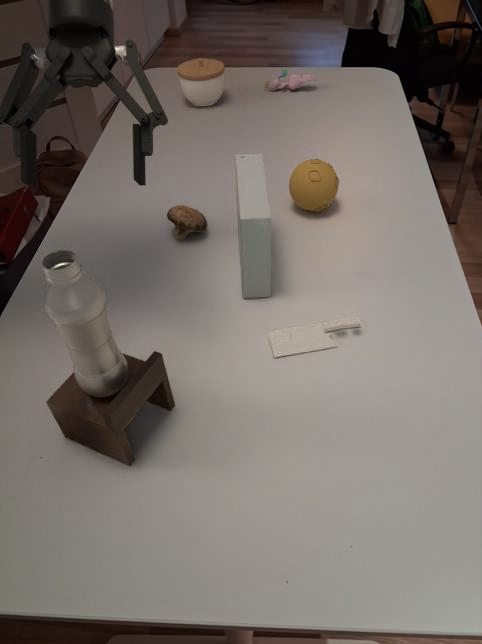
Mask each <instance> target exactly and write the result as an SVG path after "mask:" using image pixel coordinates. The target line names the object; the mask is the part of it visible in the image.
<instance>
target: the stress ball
mask: <svg viewBox="0 0 482 644" xmlns="http://www.w3.org/2000/svg"><path fill="white" fill-rule="evenodd" d="M288 182H289V183H288V191H289V194H290V197H291V199H292V201H293V202H294V204H296V205H297V206H298V207H299V208H301V209H303V210H306V211H309V212H310V211H311V212H315V213H319V212H322V211H325V210H327V209H328V208H329V206H330V205H331V204H332V202H333V201H334V200H335V199H336V196H337V194H338V190H339V185H340V179H339V177H338V174H337V173H336V170H335V169H334V167H333V165H331V164H330V163H329V162H326V161H325V160H321V159H319V158H313V159H308V160H305V161H302V162H300V163H299V164H298V165H297V166H296V167H295V168H294V170H293V171H292V172H291V175H290V177H289V180H288Z"/></svg>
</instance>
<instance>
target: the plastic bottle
mask: <svg viewBox="0 0 482 644" xmlns="http://www.w3.org/2000/svg"><path fill="white" fill-rule="evenodd" d="M40 266H41V268H42V271H43V275H44V278H45V280H46V281H47V282H48V283H47V285H46V288H45V291H44V294H43V305H44V310H45V311H46V313H47V315H48V316H49V318H50V320H51V321H52V323H53V324H54V325H55V327H56V328H57V330H58V332H59V333H60V335H61V337H62V339H63V341H64V342H65V345H66V347H67V349H68V352H69V355H70V359H71V363H72V370H73V372H74V375H75V379H76V382H77V383H78V385H79V386H80V387H81V388H82V390H83V391H84V392H85V393H87V394H89V395H92V396H95V397H109V396H112V395H114V394H116V393H118V392H119V391H120V390H121V389H122V388H123V387H124V386H125V384H126V383H127V381H128V377H129V371H128V364H127V361H126V359H125V357H124V356H123V354H122V353H123V352H122V351H121V350H120V348H119V346H118V344H117V342H116V339H115V337H114V335H113V332H112V329H111V324H110V320H109V315H108V306H107V301H106V296H105V290H104V288H103V287H102V286H101V285H100V283H99V282H98V281H97V280H96V279H94V278H92V276H90V275H88V274H87V273H84V268H83V266H82V264H81V262H80V260H79V257H78V255H77V253H76V252H74V251H73V250H70V249H55V250H53V251H50V252H48V253H47V254H45V255H44V256H43V257H42V258H41V260H40Z"/></svg>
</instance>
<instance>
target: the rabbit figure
mask: <svg viewBox="0 0 482 644" xmlns="http://www.w3.org/2000/svg"><path fill="white" fill-rule="evenodd" d="M281 71H282V73H280V74H279V75H277V77H276V78H274V79H272V80H267V81H264V84H263V90H264V92H266V91H267V89H266V88H267V87H268V88H269V90H270V91H271V92H275V91H276V90H279V89H280V90H281V89H284V88H286V87H288V88H289V89H290V90H292V91H294V90H296V89H299V88H301V86H302V84H304V83H306V82H308V81H313V82H318V77H317V76H315V75H313V74H310V73H307V74H302V75H301V74H298V73H294V74H292V75H290V76H289V77H288V79H287V81H286V80H285V79H283V78H285V77H287V75H288V70H287V69H286V68H282V69H281Z"/></svg>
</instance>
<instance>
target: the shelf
mask: <svg viewBox="0 0 482 644" xmlns="http://www.w3.org/2000/svg"><path fill="white" fill-rule="evenodd" d="M121 353H122V354H123V356H124V357H125V359H126V361H127V364H128V371H129V377H128V381H127V383H126V384H125V386H124V387H123V388H122V389H121V390H120V391H119V392H118V393H116V394H114V395H112V396H109V397H95V396H92V395H89V394H87V393H85V392H84V391H83V390H82V388H81V387H80V386H79V385H78V383H77V382H76V379H75V375H74V371H73V372H72V373H71V375H70V376H68V378H67V379H66V380H65V381H64V382H63V383H62V384H61V385H60V386H59V387H58V388H57V390H55V391H54V393H52V395H51V396H50V397H49V398H48V399H47V400H46V401H45V403H46V405H47V408H48V409H49V410H50V412H51V415H52V416H53V418H54V420H55V421H56V423H57V425H58V427H59V429H60V431H61V433H62V435H63V436H64V438H65V439H68V440H69V441H72V442H74V443H76V444H79V445H80V446H83V447H85V448H87V449H90V450H92V451H95V452H97V453H99V454H101V455H103V456H106V457H108V458H110V459H112V460H115V461H117V462H118V463H119V462H120V463H121V464H124V465H126V466H128V467H131V466H132V465H133V464H134V463H135V461H136V457H135V454H134V452H133V450H132V447H131V444H130V442H129V439H128V437H127V435H126V432H125V430H126V429H127V427H128V426H129V425H130V423H131V421H132V420H133V419H134V418H135V417H136V416H137V414H138V413H139V412H140V410H141V409H142V407H143V406H144V405H145V404H146V403H147V404H151V405H153V406H155V407H159V408H161V409H163V410H166V411H169V412H172V411H173V409H174V408H175V407H176V402H175V399H174V396H173V391H172V388H171V384H170V383H171V382H170V380H169V375H168V372H167V368H166V364H165V360H164V356H163V353H162V352H159V351H156V350H154V351H153V352H152V353H151V354H150V355H149V356H148V357H147V359H146V360H142V359H140V358H137V357H134V356H133V355H129V354H127V353H124V352H121Z"/></svg>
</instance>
